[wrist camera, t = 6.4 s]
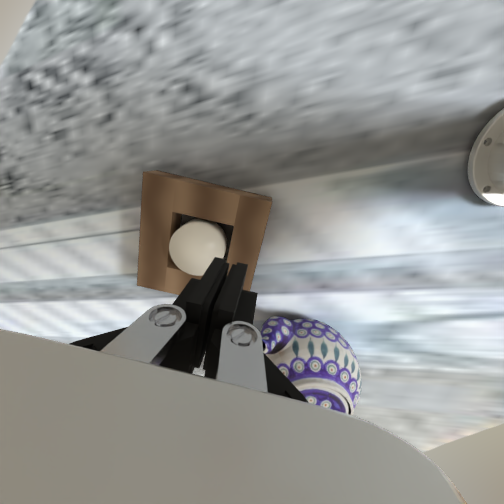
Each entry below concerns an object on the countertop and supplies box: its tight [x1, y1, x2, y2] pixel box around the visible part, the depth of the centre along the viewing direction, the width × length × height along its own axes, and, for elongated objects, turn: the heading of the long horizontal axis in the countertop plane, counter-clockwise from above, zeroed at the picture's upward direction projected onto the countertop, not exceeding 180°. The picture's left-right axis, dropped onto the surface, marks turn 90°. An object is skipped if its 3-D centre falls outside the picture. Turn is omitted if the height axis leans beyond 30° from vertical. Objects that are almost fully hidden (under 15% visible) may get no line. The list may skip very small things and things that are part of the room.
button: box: [169, 218, 227, 276], centre depth 32 cm, size 7×7×4 cm
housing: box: [137, 170, 272, 295], centre depth 34 cm, size 16×16×4 cm
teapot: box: [261, 316, 361, 416], centre depth 35 cm, size 25×15×15 cm, turn 35°
